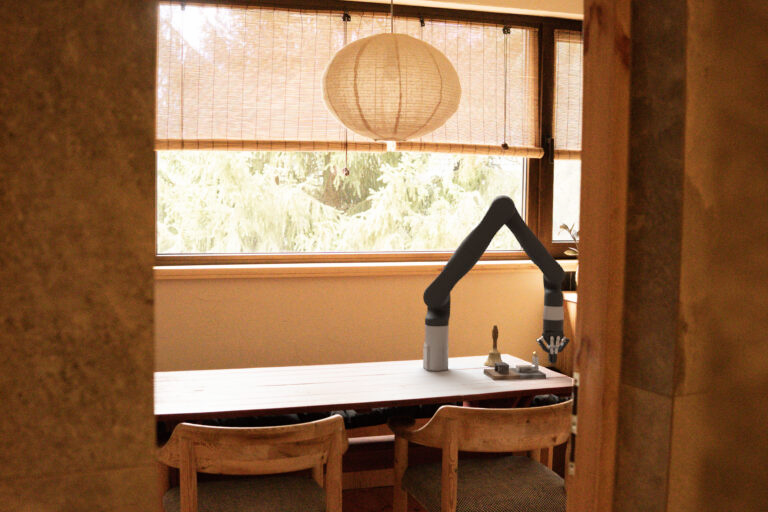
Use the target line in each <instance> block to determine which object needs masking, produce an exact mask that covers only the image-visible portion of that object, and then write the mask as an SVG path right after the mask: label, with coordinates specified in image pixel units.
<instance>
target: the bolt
mask: <svg viewBox="0 0 768 512" xmlns="http://www.w3.org/2000/svg"><path fill="white" fill-rule="evenodd" d="M539 360H540V357H539V353H538V352H537V351H534V352H533V353H532V359H531V364H518V365H515V368H516V371H518V372H521V368H532V371H540V370H539V368H540V367H539V364H540V363H539Z"/></svg>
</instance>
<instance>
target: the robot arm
mask: <svg viewBox="0 0 768 512" xmlns="http://www.w3.org/2000/svg"><path fill="white" fill-rule="evenodd" d="M503 226H506V227H507V229H508V230H509V231H510V232H511V234H512V235H513V237H514V238H515V239H516V241H517V242H518V244H519V247H521V248H522V250H523V252H524V253H525V255H527V256H528V258H529V260H530V261H531V262H532V263H533V264H534V265H535V266H536V267H537V268H538V269H539V271H541V273H542V281H543V282H542V283H543V284H542V285H543V290H544V295H543V311H542V334H541V336H540V337H539V338H536V340H535V341H536V342H537V344H538V346H540V347H541V350H543V352H545V353H547V354H548V356H547V357H548V359H547V360H548V362H549V364H550V365H555V364H556V363H557V361H558V354H559V353H562V352H563V351H564V349H565V348H566V347H567V345H568V344H569V343H570V342H571V341H570V339H569V338H568V337H566V336H565V333H564V324H565V323H564V319H565V318H564V317H565V315H564V314H565V313H564V293H563V290H562V282H564V280H565V278H566V273H565V272H566V271H565V270H564V268H563V267H562V266H561V265H560V263H559V262H558V261H557V260H556V259H555V258H554V257H553V256H552V255H551V253H550V252H549V251H548V249H547V248H546V246H545V245H544V244H543V243H542V242H541V240H540V239H539V237H537V235H536V234H535V233H534V232H533V231H532V229H531V228H530V227H529V226H528V224H527V223H526V222H525V220H524V219H523V218H522V216H521V214H520V213H519V211H518V209H517V207H516V205H515V202H514V200H513V199H512V198H511V197H510V196H508V195H498V196H496V197H494V199H492V201H491V203H490V206H489V207H488V210H487V211H486V212H485V215H484V216H483V218H482V219H481V221H480V222H479V223H478V224H477V226H476V227H475V228H474V229H472V230H471V231H470V232H469V233H468V234H467V235H466V236H465V238H464V239H463V240H462V241H461V243H460V244H459V245H458V246H457V248H455V250H454V252H453V254H452V255H451V256H450V258H449V259H448V261H447V262H446V264H445V266H444V268H443V269H442V271H440V273H439V274H438V275H437V276H436V278H435V279H434V280H433V281H432V282H431V283H430V284H429V285H428V286H427V287H426V288H425V290H424V292H423V295H422V297H423V298H422V300H423V302H424V304H425V306H427V307H426V308H427V310H426V315H425V318H424V343H423V344H422V345H423V349H422V350H423V352H422V356H423V357H422V360H423V361H422V368H423V369H424V370H425V371H431V372H432V371H435V372H436V371H437V372H440V371H447V370H449V332H450V330H449V329H450V328H449V327H450V326H449V325H450V317H451V302H452V301H451V299H452V297H451V292H452V291H453V289H454V288H455V287H456V285H457V284H458V282H459V281H460V280H462V278H464V277H465V276H467V274H469V272H470V271H471V270H472V269H473V268H474V266H476V264H477V263H478V262H479V261H480V259H481V257H482V256H483V255H484V253H485V252H486V251H487V249H488V248H489V246H490V244H491V242H492V241H493V240H494V238H495V236H496V235H497V234H498V233H499V232H500V230H501V229H502V228H503ZM545 343H546V344H545Z"/></svg>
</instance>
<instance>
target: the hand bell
mask: <svg viewBox="0 0 768 512" xmlns="http://www.w3.org/2000/svg"><path fill="white" fill-rule="evenodd" d="M498 328H499V327H498V325H497V324H495V325H493V328H492V331H491V338H492V349H490V351H489V352H488V357H487V359H486V361H485V362H484V363H483V366H486V367H493V368H495V363H499V362H503V360H502V356H501V351H499V350H498V339H499V329H498Z"/></svg>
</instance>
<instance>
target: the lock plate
mask: <svg viewBox="0 0 768 512" xmlns="http://www.w3.org/2000/svg"><path fill="white" fill-rule="evenodd" d="M483 374H484V375H486V376H487V377H489V378H490V379H491V380H493V381H504V380H505V381H507V380H508V381H510V380H512V381H513V380H514V381H515V380H535V379H541V380H542V379H547V374H546V373H544V372H542V371H541V370H539V371H532V368H521V372H518V371H516V367H512V368H511V367H510V364H508V363H506V362H505V361H504V362H503V361H502V362H499V363H495V367H494V368H484V369H483Z"/></svg>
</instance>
